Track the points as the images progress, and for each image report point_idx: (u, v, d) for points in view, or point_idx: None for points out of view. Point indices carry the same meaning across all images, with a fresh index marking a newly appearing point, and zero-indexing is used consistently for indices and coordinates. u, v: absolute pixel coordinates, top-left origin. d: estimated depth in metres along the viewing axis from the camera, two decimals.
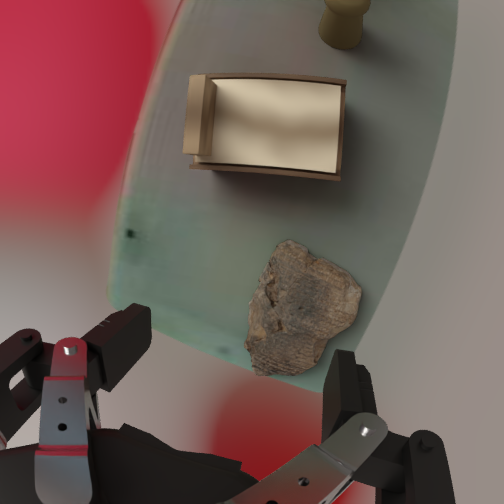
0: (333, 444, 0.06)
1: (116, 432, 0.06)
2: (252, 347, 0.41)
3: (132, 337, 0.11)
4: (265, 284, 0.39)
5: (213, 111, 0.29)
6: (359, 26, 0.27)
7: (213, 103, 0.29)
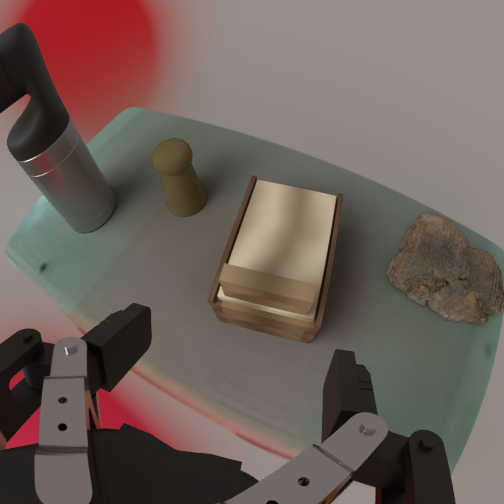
0: (333, 444, 0.06)
1: (116, 432, 0.06)
2: (485, 308, 0.31)
3: (132, 337, 0.11)
4: (429, 292, 0.33)
5: None
6: None
7: None
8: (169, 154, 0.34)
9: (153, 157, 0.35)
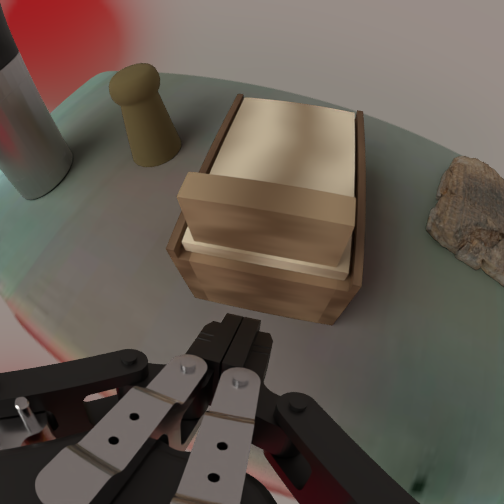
0: (220, 405, 0.07)
1: None
2: None
3: None
4: (485, 248, 0.22)
5: None
6: None
7: None
8: (129, 75, 0.23)
9: (110, 84, 0.23)
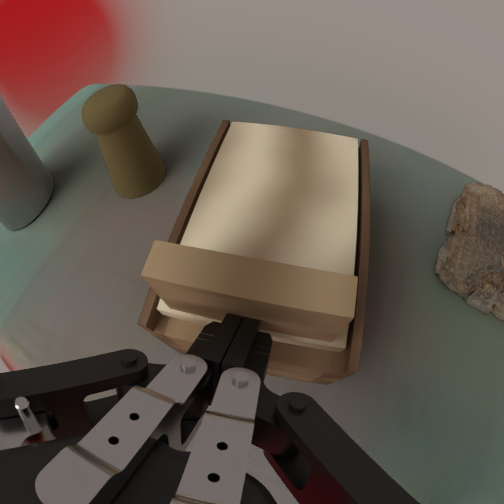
0: (220, 405, 0.07)
1: None
2: None
3: None
4: (497, 293, 0.19)
5: None
6: (144, 131, 0.27)
7: None
8: (101, 101, 0.20)
9: (82, 110, 0.21)
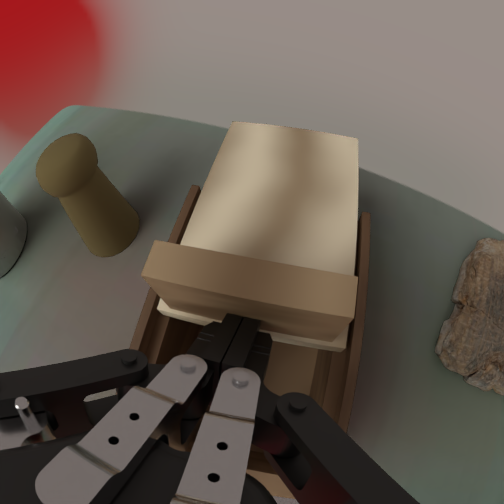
0: (220, 405, 0.07)
1: None
2: None
3: None
4: (500, 374, 0.16)
5: None
6: (111, 183, 0.24)
7: None
8: (53, 160, 0.17)
9: (36, 169, 0.18)
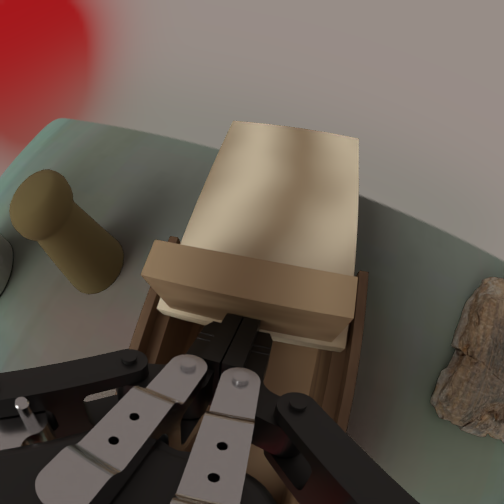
0: (220, 405, 0.07)
1: None
2: None
3: None
4: (495, 423, 0.14)
5: None
6: (91, 218, 0.22)
7: None
8: (24, 203, 0.15)
9: (10, 210, 0.16)
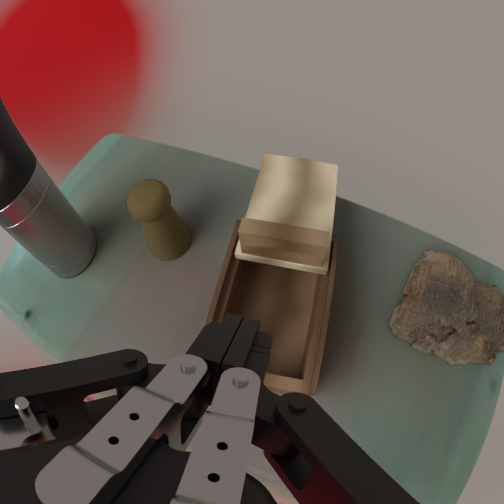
0: (220, 405, 0.07)
1: None
2: (493, 350, 0.27)
3: None
4: (435, 342, 0.30)
5: None
6: None
7: None
8: (144, 199, 0.31)
9: (128, 202, 0.32)
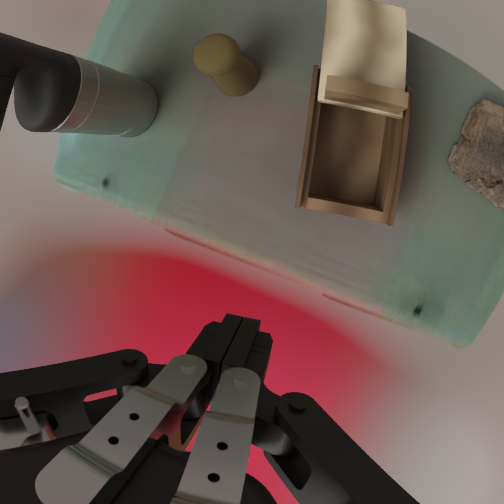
0: (220, 405, 0.07)
1: None
2: None
3: None
4: (484, 186, 0.31)
5: None
6: None
7: None
8: (215, 58, 0.26)
9: (196, 63, 0.27)
